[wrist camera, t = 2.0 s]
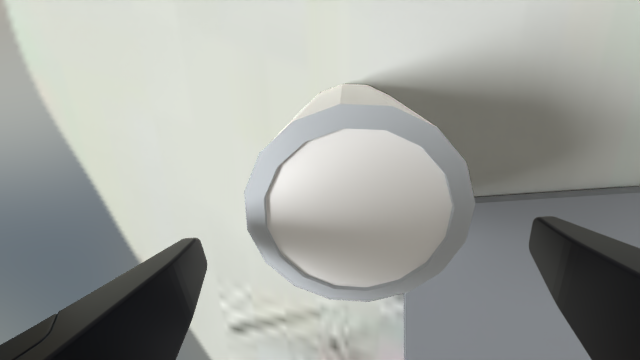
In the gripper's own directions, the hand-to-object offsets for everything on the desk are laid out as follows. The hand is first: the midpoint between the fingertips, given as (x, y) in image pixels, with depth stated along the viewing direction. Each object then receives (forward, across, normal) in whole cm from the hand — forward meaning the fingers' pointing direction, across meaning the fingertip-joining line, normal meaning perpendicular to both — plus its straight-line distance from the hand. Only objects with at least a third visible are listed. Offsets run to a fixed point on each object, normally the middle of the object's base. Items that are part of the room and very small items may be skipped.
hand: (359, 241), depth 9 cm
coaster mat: (+8, -8, +9) cm, 15 cm away
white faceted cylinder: (+8, 0, 0) cm, 8 cm away
